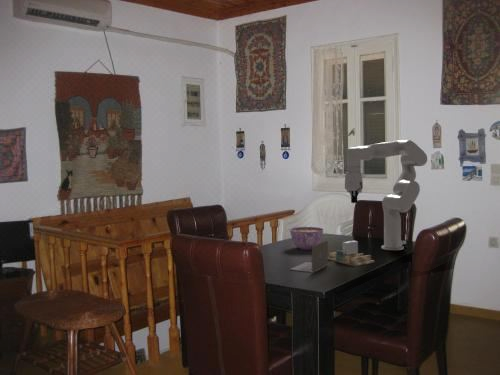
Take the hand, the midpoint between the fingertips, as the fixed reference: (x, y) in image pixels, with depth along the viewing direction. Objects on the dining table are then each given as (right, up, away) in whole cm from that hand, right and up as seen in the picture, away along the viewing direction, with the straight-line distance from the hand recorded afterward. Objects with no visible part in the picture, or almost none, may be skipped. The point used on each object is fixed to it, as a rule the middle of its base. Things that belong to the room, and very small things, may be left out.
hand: (354, 202), depth 282 cm
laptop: (-28, -32, -28) cm, 51 cm away
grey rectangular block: (-5, -29, -14) cm, 33 cm away
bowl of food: (-24, -28, +21) cm, 43 cm away
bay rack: (-5, -30, -14) cm, 34 cm away
